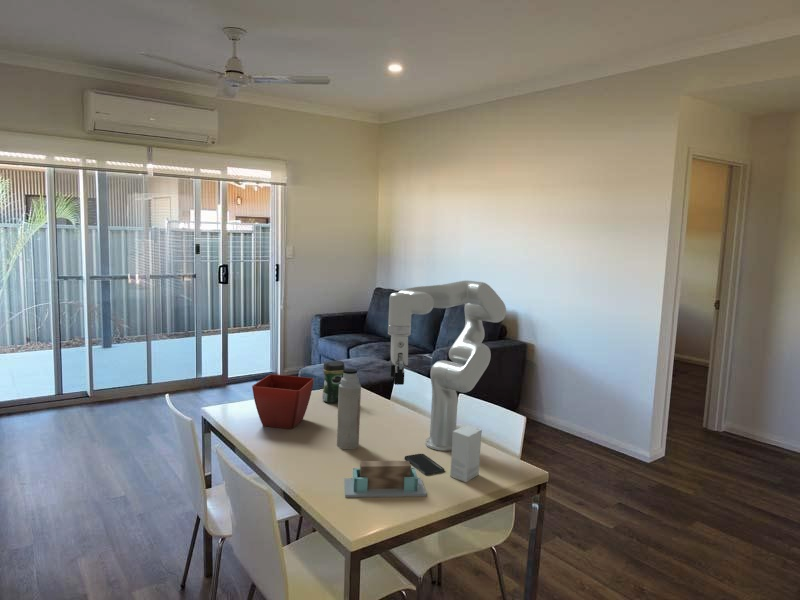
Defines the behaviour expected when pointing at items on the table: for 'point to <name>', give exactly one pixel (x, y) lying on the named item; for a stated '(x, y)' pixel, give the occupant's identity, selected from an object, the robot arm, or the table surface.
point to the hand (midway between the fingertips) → (397, 380)
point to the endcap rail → (359, 489)
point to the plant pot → (282, 399)
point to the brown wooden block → (385, 473)
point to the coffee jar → (332, 380)
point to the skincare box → (465, 453)
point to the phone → (424, 464)
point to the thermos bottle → (349, 410)
